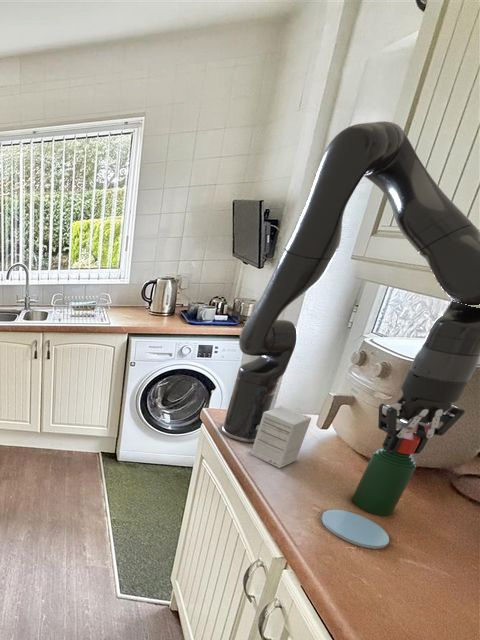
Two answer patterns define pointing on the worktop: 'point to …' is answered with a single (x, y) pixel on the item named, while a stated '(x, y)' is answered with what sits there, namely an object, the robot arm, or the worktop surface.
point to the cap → (408, 443)
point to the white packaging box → (280, 436)
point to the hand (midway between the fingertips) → (400, 450)
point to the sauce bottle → (384, 481)
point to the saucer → (355, 529)
